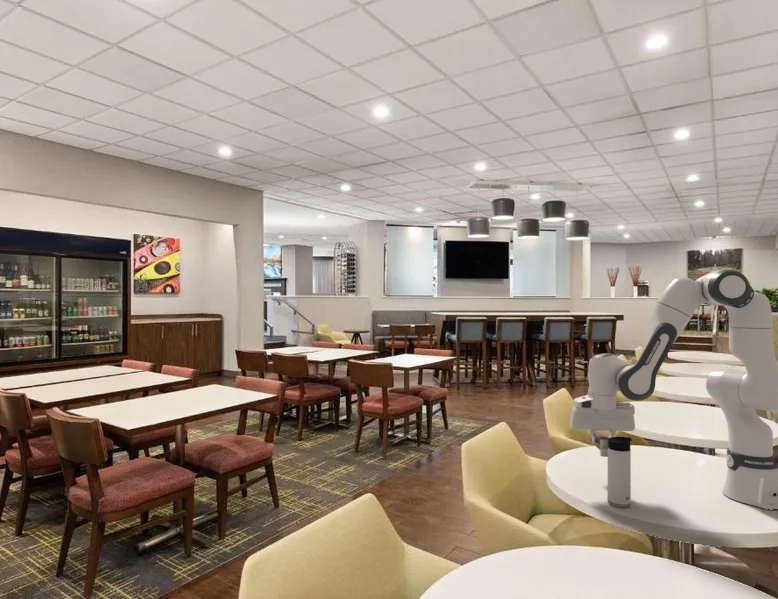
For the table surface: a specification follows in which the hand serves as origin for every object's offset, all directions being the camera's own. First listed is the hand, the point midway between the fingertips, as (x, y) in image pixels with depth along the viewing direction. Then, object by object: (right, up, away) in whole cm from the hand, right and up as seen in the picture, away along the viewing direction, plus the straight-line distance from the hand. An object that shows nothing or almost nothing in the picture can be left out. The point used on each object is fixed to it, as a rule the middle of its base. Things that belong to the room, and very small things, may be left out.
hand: (601, 443), depth 164 cm
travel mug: (-2, -14, -17) cm, 22 cm away
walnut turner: (0, -2, 0) cm, 2 cm away
